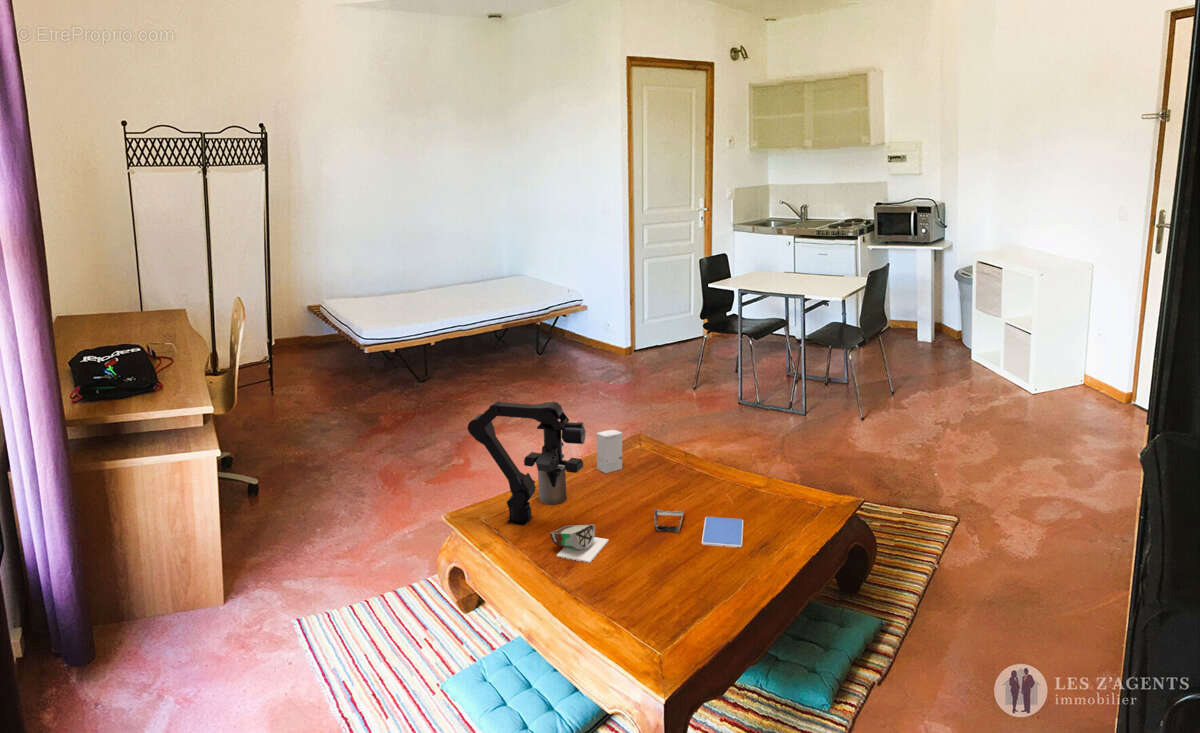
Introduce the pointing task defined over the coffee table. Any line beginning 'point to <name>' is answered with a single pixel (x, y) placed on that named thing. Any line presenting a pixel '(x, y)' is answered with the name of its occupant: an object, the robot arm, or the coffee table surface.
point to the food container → (574, 536)
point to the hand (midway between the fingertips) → (554, 486)
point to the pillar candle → (551, 489)
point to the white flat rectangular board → (584, 551)
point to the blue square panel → (723, 532)
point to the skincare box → (609, 451)
